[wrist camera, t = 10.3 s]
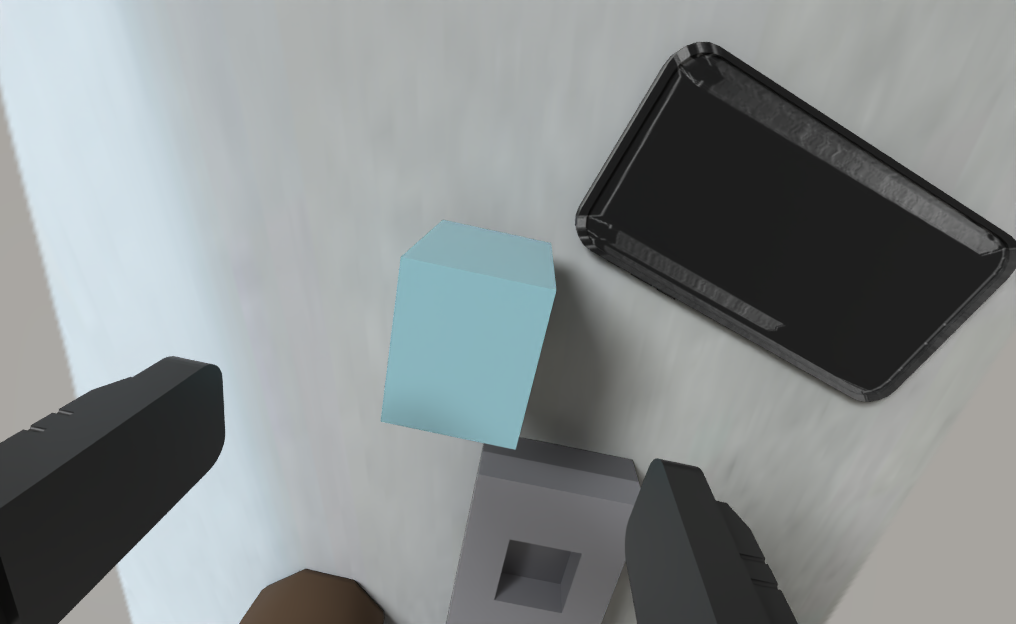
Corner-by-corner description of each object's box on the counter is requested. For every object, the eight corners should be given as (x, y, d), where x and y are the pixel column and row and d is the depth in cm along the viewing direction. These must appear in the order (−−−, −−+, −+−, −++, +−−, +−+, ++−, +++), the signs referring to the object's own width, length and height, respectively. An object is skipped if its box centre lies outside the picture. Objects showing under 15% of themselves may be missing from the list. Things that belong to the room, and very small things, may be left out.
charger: (450, 213, 18) (400, 257, 12) (550, 234, 18) (556, 290, 12) (432, 327, 20) (380, 421, 13) (523, 346, 20) (515, 449, 14)
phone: (690, 26, 15) (1035, 251, 17) (680, 34, 16) (1006, 244, 18) (563, 238, 18) (873, 413, 19) (561, 232, 19) (856, 399, 20)
